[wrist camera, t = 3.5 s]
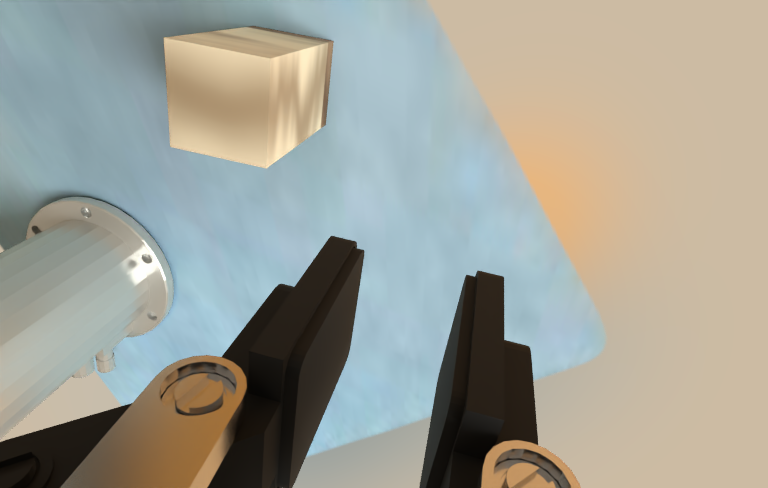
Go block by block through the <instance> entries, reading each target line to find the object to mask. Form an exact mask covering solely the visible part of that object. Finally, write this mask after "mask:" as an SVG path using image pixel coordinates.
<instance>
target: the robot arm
mask: <svg viewBox="0 0 768 488" xmlns="http://www.w3.org/2000/svg"><path fill="white" fill-rule="evenodd" d="M363 259H364V250H361V249H357V243H356V242H355V241H351V240H347V239H343V238H339V237H334V236H331V237H330V238H329V239H328V241H327V242H326V243H325V245H324V246H323V248H322V249H321V250H320V252H319V253H318V255H317V256H316V258H315V259H314V260H313V262H312V263H311V265H310V266H309V267H308V269H307V270H306V272H305V273H304V274H303V276H302V277H301V279H300V280H299V281H298V283H297V284H296V286H295V287H293V286H289V285H285V284H279V285H278V286H277V287H276V288H275V289H274V290H273V291H272V293H271V294H270V295H269V297H268V298H267V299H266V300H265V302H264V303H263V304H262V306H261V307H260V308H259V309H258V311H257V312H256V313H255V315H254V316H253V317H252V318H251V320H250V321H249V322H248V324H247V325H246V326H245V327H244V329H243V330H242V331H241V333H240V334H239V335H238V337H237V338H236V339H235V340H234V342H233V343H232V344H231V346H230V347H229V348H228V349H227V351H226V352H225V353H224V355H223V356H222V357H217V356H209V355H205V356H193V357H189V358H186V359H182V360H179V361H177V362H175V363H173V364H171V365H169V366H167V367H166V368H164V369H163V370H162V371H161V372H160V373H159V374H158V375H157V376H156V377H155V378H154V379H153V380H152V381H151V382H150V384H149V385H148V386H147V387H146V388H145V389H144V391H143V392H142V393H141V394H140V395H139V396H138V397H137V399H136V400H135V401H134V402H133V403H132V404H128V405H125V406H121V407H118V408H114V409H111V410H108V411H104V412H101V413H98V414H94V415H90V416H87V417H84V418H80V419H77V420H73V421H70V422H67V423H64V424H60V425H56V426H53V427H50V428H46V429H43V430H39V431H36V432H32V433H29V434H26V435H23V436H19V437H15V438H12V439H9V440H5V441H3V442H0V488H292V487H293V485H294V483H295V480H296V478H297V476H298V473H299V471H300V469H301V466H302V464H303V462H304V459H305V457H306V455H307V452H308V450H309V448H310V445H311V443H312V441H313V438H314V436H315V434H316V431H317V429H318V427H319V424H320V422H321V420H322V417H323V415H324V412H325V410H326V408H327V405H328V403H329V401H330V398H331V396H332V394H333V391H334V389H335V387H336V384H337V382H338V380H339V377H340V375H341V373H342V370H343V368H344V366H345V363H346V361H347V358H348V354H349V350H350V345H351V339H352V332H353V326H354V319H355V312H356V306H357V299H358V293H359V286H360V279H361V273H362V266H363ZM173 296H174V285H173V278H172V274H171V271H170V267H169V265H168V263H167V261H166V258H165V256H164V254H163V252H162V251H161V249H160V248H159V246H158V245H157V243H156V242H155V240H154V239H153V238H152V237H151V236H150V235H149V233H148V232H147V231H146V230H145V229H144V228H143V227H142V226H141V225H140V224H138V223H137V222H136V221H135V220H134V219H133V218H132V217H130V216H128V215H127V214H125V213H124V212H122V211H121V210H119V209H118V208H116V207H114V206H111V205H109V204H107V203H105V202H102V201H99V200H95V199H92V198H86V197H68V198H63V199H60V200H57V201H55V202H52V203H50V204H48V205H47V206H45V207H43V208H41V209H40V210H39V211H38V212H37V213H36V214H35V215H34V216H33V217H32V219H31V221H30V223H29V225H28V229H27V234H26V240H25V241H23V242H21V243H19V244H17V245H15V246H13V247H11V248H9V249H7V250H5V251H4V252H2V253H0V439H1V438H2V437H4V436H5V435H6V434H7V433H8V432H9V431H10V430H11V429H13V427H15V426H16V425H17V424H18V423H19V422H20V421H22V420H23V419H24V418H25V417H26V416H27V415H28V414H30V413H31V412H32V411H33V410H34V409H35V408H36V407H37V406H38V405H39V404H41V403H42V402H43V401H44V400H45V399H46V398H48V397H49V396H50V395H51V394H52V393H53V392H54V391H55V390H57V389H58V388H59V387H60V386H61V385H62V384H63V383H65V382H66V381H67V380H68V379H69V378H70V377H71V376H72V377H74V378H82V377H86V376H88V375H89V374H91V373H92V372H93V371H94V369H95V367H94V361H93V357H94V356H96V362H97V368H98V371H99V372H101V373H107V372H110V371H112V370H113V369H114V368H115V367H116V365H115V358H114V353H113V350H112V349H113V348H114V347H115V346H116V345H117V344H119V343H120V342H121V341H122V340H123V339H124V338H125V337H135V336H139V335H143V334H145V333H147V332H149V331H151V330H153V329H154V328H155V327H156V326H157V325H158V324H159V323H161V322H162V321H163V319H164V318H165V317H166V316H167V314H168V313H169V311H170V308H171V306H172V303H173ZM420 488H581V487H580V484H579V482H578V481H577V479H576V477H575V475H574V474H573V472H572V471H571V470H570V468H569V467H568V466H567V465H566V464H565V463H564V462H563V461H562V460H561V459H560V458H559V457H557V456H556V455H554V454H553V453H551V452H550V451H549V450H547V449H546V448H543V447H541V446H538V436H537V424H536V411H535V398H534V386H533V373H532V360H531V351H530V348H529V346H526V345H522V344H518V343H514V342H510V341H506V340H504V277H503V276H498V275H494V274H490V273H486V272H482V271H477V273H476V276H475V277H474V276H469V275H466V277H465V280H464V284H463V288H462V291H461V295H460V299H459V302H458V306H457V310H456V313H455V317H454V321H453V324H452V328H451V332H450V336H449V339H448V343H447V347H446V350H445V354H444V358H443V361H442V365H441V369H440V373H439V377H438V382H437V387H436V393H435V399H434V405H433V410H432V416H431V422H430V428H429V434H428V440H427V446H426V452H425V458H424V464H423V470H422V476H421V482H420Z"/></svg>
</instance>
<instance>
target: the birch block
mask: <svg viewBox="0 0 768 488" xmlns="http://www.w3.org/2000/svg"><path fill="white" fill-rule="evenodd" d="M164 50H165V67H166V84H167V100H168V117H169V134H170V147H173V148H178V149H182V150H187V151H191V152H195V153H200V154H204V155H209V156H213V157H218V158H222V159H227V160H231V161H236V162H240V163H244V164H249V165H253V166H258V167H262V168H268V167H269V166H271V165H272V164H273V163H275V162H276V161H277V160H279V159H280V158H281V157H283V156H284V155H285V154H287V153H288V152H289V151H291V150H292V149H294V148H295V147H296V146H298V145H299V144H300V143H302V142H303V141H304V140H306V139H307V138H308V137H310V136H311V135H312V134H314V133H315V132H317V131H318V130H319V129H321V128H322V127H323V126H325V125H326V115H327V105H328V94H329V83H330V73H331V62H332V51H333V41H330V40H325V39H320V38H314V37H309V36H304V35H299V34H293V33H288V32H283V31H278V30H272V29H267V28H262V27H256V26H250V27H242V28H234V29H227V30H219V31H211V32H203V33H195V34H188V35H180V36H172V37H164Z"/></svg>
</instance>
